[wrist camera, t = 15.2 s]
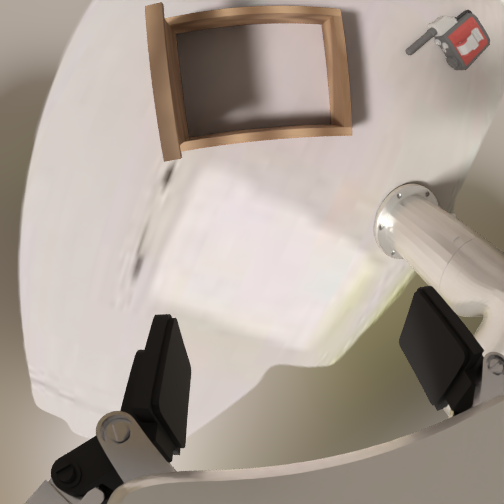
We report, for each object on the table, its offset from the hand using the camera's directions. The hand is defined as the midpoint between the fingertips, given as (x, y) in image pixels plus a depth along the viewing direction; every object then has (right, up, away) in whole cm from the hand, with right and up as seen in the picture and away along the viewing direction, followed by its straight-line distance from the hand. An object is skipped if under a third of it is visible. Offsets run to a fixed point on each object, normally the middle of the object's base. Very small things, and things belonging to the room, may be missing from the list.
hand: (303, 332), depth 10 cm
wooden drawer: (-1, +24, +20) cm, 31 cm away
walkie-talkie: (+28, +36, +17) cm, 49 cm away
